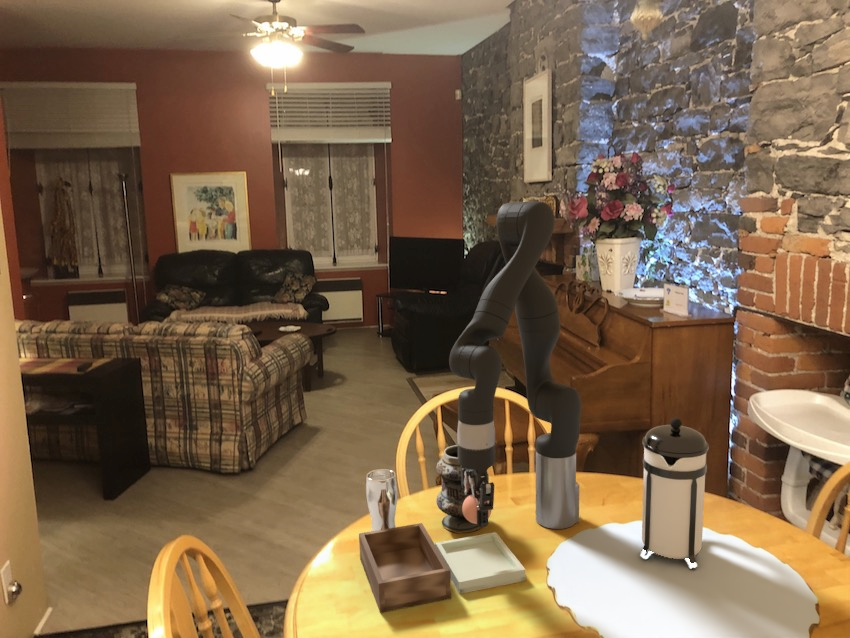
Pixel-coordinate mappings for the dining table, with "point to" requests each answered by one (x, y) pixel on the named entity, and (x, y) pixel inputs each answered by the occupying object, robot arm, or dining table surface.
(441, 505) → the apothecary jar
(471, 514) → the ball
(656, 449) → the coffee press
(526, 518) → the dining table surface
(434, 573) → the crate
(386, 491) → the beer glass
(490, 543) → the tray
